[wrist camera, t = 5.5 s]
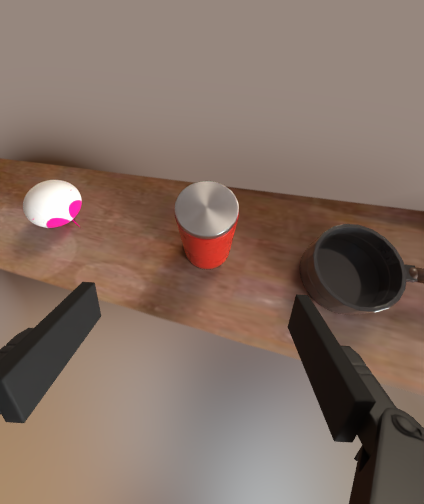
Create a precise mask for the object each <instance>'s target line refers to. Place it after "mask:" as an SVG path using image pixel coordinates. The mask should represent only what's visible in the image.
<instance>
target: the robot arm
mask: <svg viewBox="0 0 424 504" xmlns="http://www.w3.org/2000/svg"><path fill="white" fill-rule="evenodd" d="M100 317H101V313H100V307H99V303H98V297H97V292H96V287H95V283H92V282H82V283H81V284H80V285H79V286H78V287H77V288H76V289H75V290H74V291H73V292H72V293H71V294H70V295H68V296H67V297H66V298H65V299H64V300H63V301H62V302H61V303H60V304H59V305H58V306H57V307H56V308H55V309H54V310H53V311H52V312H51V313H49V314H48V315H47V316H46V318H44V319H43V320H42V321H41V322H40V323H39V324H38V325H37V326H36V327H35V328H28V329H26V330H24V331H23V332H21V333H19V334H17V335H16V336H15V337H14V338H13V339H11V340H10V341H9V342H8V343H7V345H6V346H4V347H3V348H1V349H0V414H2V416H3V418H4V419H5V421H6V422H13V423H24V422H25V421H26V420H27V418H28V417H29V416H30V414H31V413H32V411H33V410H34V409H35V407H36V406H37V404H38V403H39V402H40V400H41V399H42V397H43V396H44V395H45V393H46V392H47V391H48V389H49V388H50V386H51V385H52V384H53V382H54V381H55V380H56V378H57V376H58V375H59V374H60V373H61V371H62V370H63V368H64V367H65V366H66V364H67V363H68V361H69V360H70V358H71V357H72V356H73V354H74V353H75V352H76V350H77V349H78V348H79V346H80V345H81V343H82V342H83V341H84V339H85V338H86V337H87V335H88V334H89V332H90V331H91V330H92V328H93V327H94V325H95V324H96V323H97V321H98V320H99V318H100ZM288 329H289V331H290V334H291V336H292V339H293V341H294V344H295V346H296V349H297V351H298V353H299V356H300V358H301V361H302V363H303V366H304V368H305V371H306V373H307V375H308V378H309V381H310V383H311V385H312V388H313V390H314V393H315V395H316V398H317V400H318V402H319V405H320V408H321V410H322V412H323V415H324V417H325V420H326V422H327V425H328V427H329V430H330V432H331V435H332V437H333V440H334V441H337V442H353V440H354V439H355V437H356V435H358V437H359V439H360V441H361V443H362V447H361V448H360V450H359V451H358V453H357V455H356V456H355V458H354V459H355V460H356V461H358V462H357V467H356V472H355V476H354V481H353V487H352V492H351V496H350V501H349V504H424V428H423V427H421V425H420V424H419V423H418V422H417V421H416V420H415V419H414V418H413V417H411V416H410V415H409V414H407V413H406V412H404V411H402V410H400V409H397V408H396V406H395V405H394V404H393V402H392V401H391V400H390V398H389V396H388V395H387V394H386V392H385V391H384V389H383V388H382V387H381V385H380V384H379V382H378V381H377V379H376V378H375V377H374V375H372V372H371V371H370V370H369V368H368V367H367V366H366V364H365V362H364V361H363V360H362V358H361V357H360V355H359V354H358V353H356V352H355V351H354V350H353V349H352V348H351V347H350V346H340V344H339V343H338V341H337V340H336V338H335V337H334V335H333V334H332V332H331V330H330V329H329V327H328V326H327V324H326V323H325V321H324V319H323V318H322V316H321V315H320V313H319V312H318V310H317V309H316V307H315V305H314V304H313V302H312V301H311V299H310V298H309V296H308V295H296V297H295V301H294V305H293V309H292V313H291V317H290V321H289V324H288Z"/></svg>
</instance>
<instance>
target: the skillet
mask: <svg viewBox="0 0 424 504" xmlns="http://www.w3.org/2000/svg"><path fill="white" fill-rule="evenodd" d="M300 275H301V279H302V282H303V285H304V287H305V289H306V290H307V292H308V293H309V295H310V296H311V297H312V298H313V299H314V300H315V301H316V302H317V303H318V304H319V305H321V306H322V307H324V308H326V309H327V310H329V311H332V312H335V313H338V314H345V315H356V314H364V313H372V312H377V311H381V310H385V309H388V308H390V307H391V306H392V305H394V304H395V303H396V302H398V301H399V300H400V298H401V296H402V294H403V292H404V290H405V287H406V271H405V267H404V263H403V260H402V259H401V257H400V255H399V253H398V252H397V250H396V249H395V247H394V246H393V245H392V244H391V243H390V242H389V241H388V240H387V239H386V238H385V237H383V236H382V235H380V234H379V233H377V232H375V231H374V230H372V229H369V228H366V227H363V226H360V225H353V224H343V225H339V226H334V227H332V228H330V229H329V230H327V231H326V232H324V233H323V234H322V235H320V236H319V237H318V238H317V239H316V240H315V241H313V242H312V243H311V244H310V245H309V246H308V248H307V249H306V250H305V251H304V253H303V255H302V257H301V261H300Z"/></svg>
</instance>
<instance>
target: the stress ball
mask: <svg viewBox="0 0 424 504" xmlns="http://www.w3.org/2000/svg"><path fill="white" fill-rule="evenodd" d="M81 204H82V200H81V195H80V193H79V191H78V190H77V189H76V187H74V186H73V185H72V184H70V183H68V182H65V181H62V180H48V181H44V182H41V183H39V184H37V185H36V186H34V187H33V188H32V189H30V191H29V192H28V193H27V194H26V196H25V198H24V201H23V210H24V213H25V215H26V217H27V218H28V219H29V220H30V221H31V222H32V223H34V224H35V225H38V226H41V227H46V228H54V227H59V226H62V225H65V224H67V223H68V222H70V221H71V220H72V221H73V222H74V223H75V224H77V223H76V222H75V221H74V220H73V219H74V218H75V217H76V215H77V214H78V213H79V211H80V208H81ZM77 225H78V224H77ZM78 226H79V225H78ZM79 227H80V226H79Z"/></svg>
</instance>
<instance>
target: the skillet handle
mask: <svg viewBox="0 0 424 504" xmlns="http://www.w3.org/2000/svg"><path fill="white" fill-rule="evenodd" d="M404 267H405V271H406V282H420V283H424V269H422V268H415V266H412V265H404Z"/></svg>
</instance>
